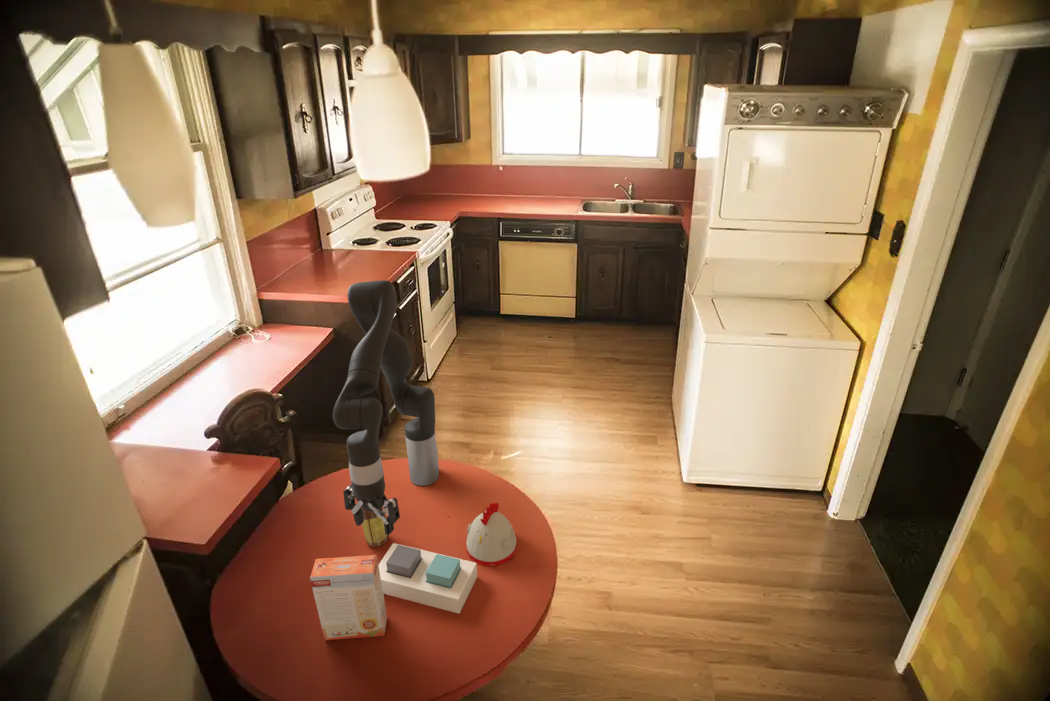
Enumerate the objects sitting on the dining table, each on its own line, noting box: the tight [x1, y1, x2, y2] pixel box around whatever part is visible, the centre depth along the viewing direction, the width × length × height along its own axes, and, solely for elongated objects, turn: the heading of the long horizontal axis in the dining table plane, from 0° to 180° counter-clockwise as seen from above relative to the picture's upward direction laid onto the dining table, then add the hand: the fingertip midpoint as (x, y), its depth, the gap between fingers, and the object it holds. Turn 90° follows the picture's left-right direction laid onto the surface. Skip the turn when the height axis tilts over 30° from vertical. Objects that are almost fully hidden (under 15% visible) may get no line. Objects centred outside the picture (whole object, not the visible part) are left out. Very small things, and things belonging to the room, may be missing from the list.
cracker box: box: [309, 554, 388, 641], centre depth 138 cm, size 14×6×21 cm, turn 94°
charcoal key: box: [386, 544, 422, 578], centre depth 154 cm, size 6×6×4 cm
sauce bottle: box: [361, 506, 389, 548], centre depth 164 cm, size 7×6×20 cm
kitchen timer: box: [465, 502, 518, 567], centre depth 163 cm, size 14×14×15 cm
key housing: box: [378, 542, 478, 614], centre depth 154 cm, size 12×24×5 cm, turn 73°
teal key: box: [426, 553, 461, 589], centre depth 151 cm, size 6×6×4 cm
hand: (374, 528), depth 146 cm, fingers open, 8 cm apart
